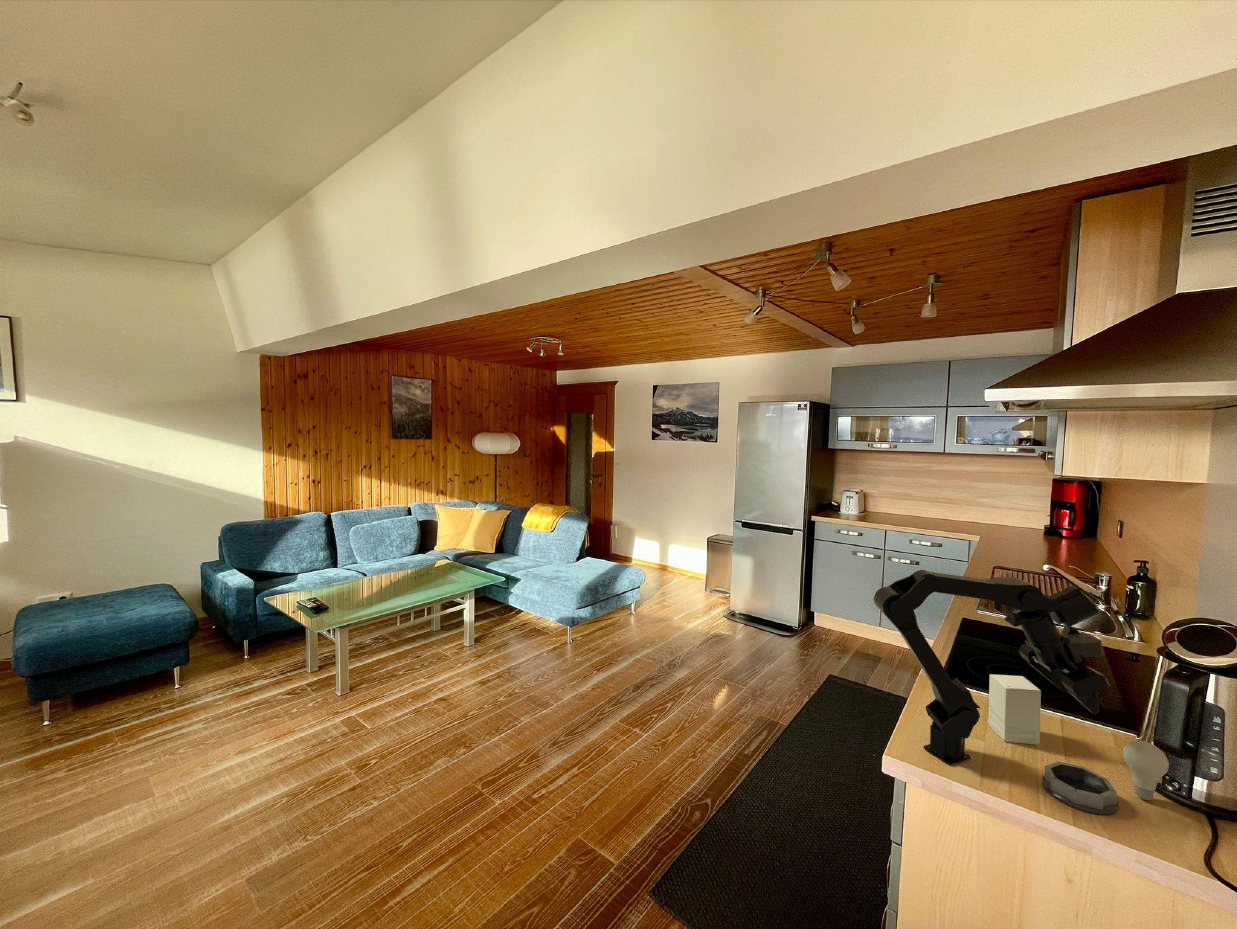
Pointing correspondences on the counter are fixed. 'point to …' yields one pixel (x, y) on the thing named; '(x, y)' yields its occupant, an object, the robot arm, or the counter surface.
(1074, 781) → the collar
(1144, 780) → the lightbulb
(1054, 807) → the counter surface
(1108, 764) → the counter surface
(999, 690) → the supplement box
